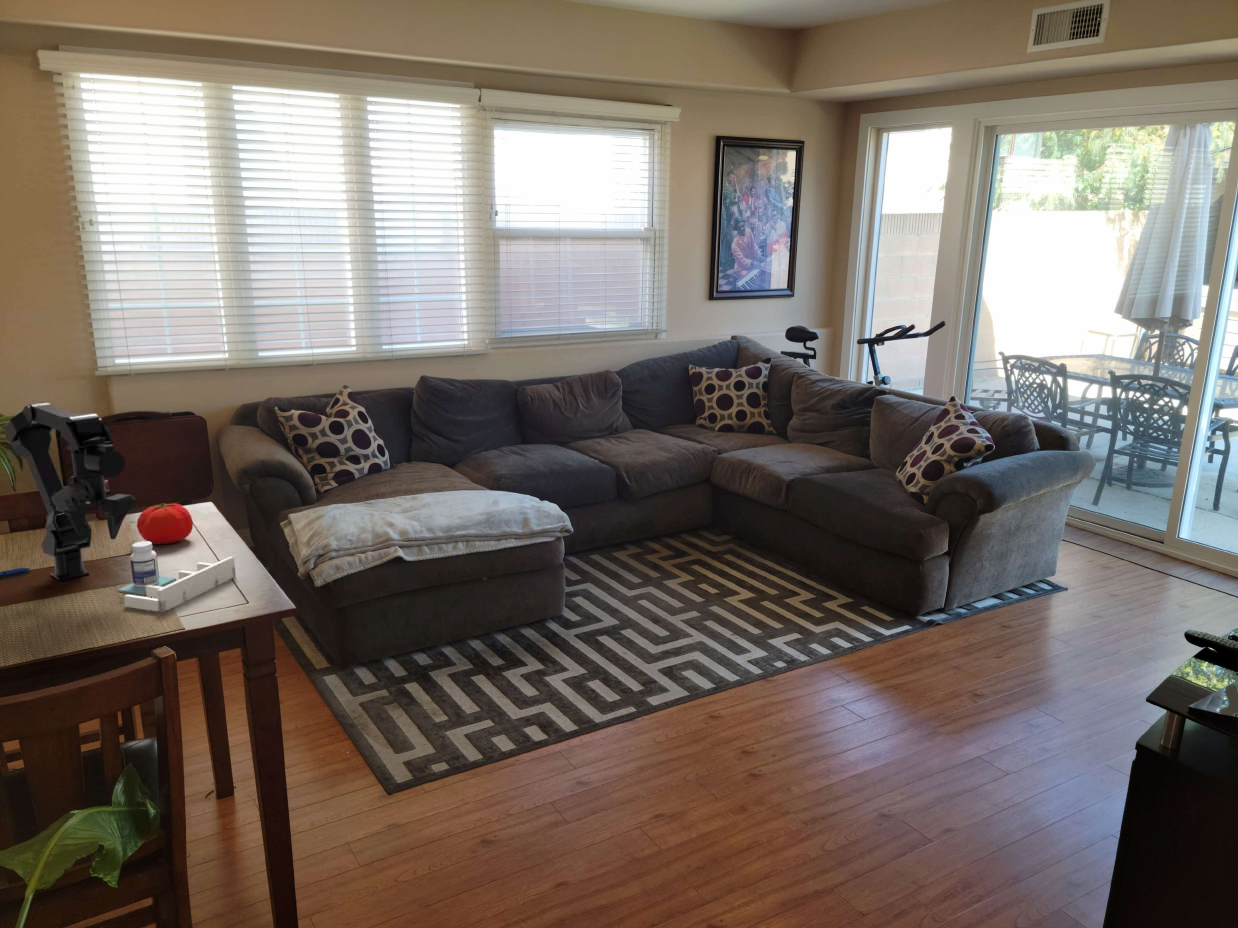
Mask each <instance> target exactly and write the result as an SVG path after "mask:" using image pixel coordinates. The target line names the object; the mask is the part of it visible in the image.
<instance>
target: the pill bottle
mask: <svg viewBox="0 0 1238 928" xmlns="http://www.w3.org/2000/svg"><path fill="white" fill-rule="evenodd" d="M131 545H132V547H131V548H132V552H133V553H131V555H130V568H131V575H132V576H131V577H132V583H133V584H134V586H136V587H145V586H147V585H153V586H154V585H156V584H157V583H158V582H159V576H160V573H159V565H158V564H159V563H158V558H157V557H158V556H157V552H156V551H155V550H153V543H151V542H149V541H146V540H144V541H137V542H134V543H133V544H131Z"/></svg>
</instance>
